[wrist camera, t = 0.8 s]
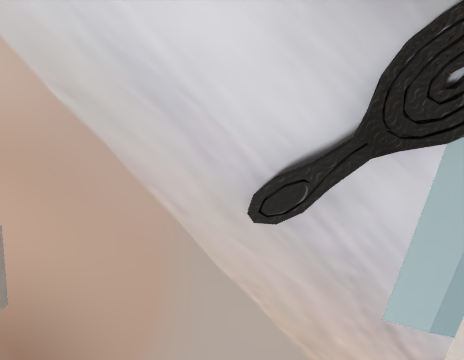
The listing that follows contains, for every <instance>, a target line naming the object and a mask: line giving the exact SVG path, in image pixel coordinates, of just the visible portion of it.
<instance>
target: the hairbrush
mask: <svg viewBox="0 0 464 360" xmlns="http://www.w3.org/2000/svg"><path fill="white" fill-rule="evenodd" d="M463 18H464V1H462V2H461V3H459V4H458V5H456V6H455V7H453V8H452V9H450V10H449V11H447V12H446V13H444V14H442V15H441V16H439V17H438V18H437V19H436V20H434V21H433V22H432V23H431V24H429V25H428V26H427V27H425V28H424V29H423V30H421V31H420V32H418V33H417V34H416V35H415V36H413V37H412V38H411V39H409V40H408V41H407V42H406V43H405V45H404V46H403V47H402V49H403V50H402V49H401V50H402V51H401V50H400V51H399V52H398V54H397V55H396V56H395V58H394V59H393V60H392V62H391V63H390V64H389V66H388V67H387V68H386V70H385V71H384V72H383V74H382V75H381V77H380V79H379V82H378V84H377V87H376V89H375V92H374V94H373V97H372V99H371V102H370V104H369V107H368V109H367V112H366V114H365V115H364V117H363V119H362V121H361V123H360V125H359V127H358V129H357V131H356V133H355V134H354V136H353V138H351V139H350V140H348V141H347V142H345V143H343V144H342V145H340V146H338V147H337V148H335V149H333V150H332V151H330V152H328V153H327V154H325V155H324V156H322V157H320V158H319V159H317V160H315V161H314V162H312V163H309V164H307V165H304V166H302V167H299V168H297V169H294V170H292V171H289V172H287V173H284V174H282V175H280V176H277V177H275V178H273V179H272V180H271V181H270V182H269V183H267V184H266V185H265V186H264V187H263V188H261V189H260V190H259V191H258V192H257V193H255V194H254V195H253V198H252V200H251V203H250V206H249V209H248V213H247V214H248V215H249V217H250V218H251V219H252V221H253V222H254V223H264V224H278V223H280V222H283V221H285V220H287V219H289V218H292V217H294V216H296V215H298V214H301V213H303V212H304V211H305V210H306V209H307V208H309V207H310V206H311V205H312V204H313V203H314V202H315V201H316V200H318V199H319V198H320V197H321V196H322V195H323V194H324V193H325V192H327V191H328V190H329V189H330V188H331V187H333V186H334V185H336V184H337V183H338V182H340V181H341V180H342V179H344V178H345V177H347V176H348V175H349V174H351V173H352V172H354V171H355V170H356V169H358V168H359V167H360V166H362V165H363V164H365V163H366V162H367V161H369V160H370V159H372V158H376V157H380V156H384V155H387V154H391V153H395V152H399V151H405V150H411V149H417V148H424V147H430V146H436V145H442V144H448V143H451V142H453V141H456V140H458V139H460V138H463V137H464V76H463V77H462V78H461V79H460V80H459V81H458V82H457V83H456V84H455V85H454V86H451V87H448V88H445V89H442V87H443V85H444V83H445V82H446V80H447V78H448V76H449V74H451V73H453V72H455V71H457V70H458V69H460V68H462V67H464V35H463V34H464V19H463ZM461 19H463V20H461ZM459 20H461V21H459ZM457 21H459V22H457ZM455 22H457V23H455ZM453 23H455V24H454V25H452V26H450V27H449V28H447V29H446V30H445V31H443V32H442V33H440V34H439V35H437V34H438V33H439V32H440V31H441V30H442V29H444V28H445V27H447V26H449V25H451V24H453ZM435 35H437V36H436V37H435V38H433V37H434V36H435ZM462 35H463V36H462ZM460 36H461V37H460ZM459 37H460V38H459ZM432 38H433V39H432ZM431 39H432V40H431ZM456 39H457V40H456ZM455 40H456V41H455ZM453 41H454V42H453ZM452 42H453V43H452ZM449 44H450V45H449ZM446 46H447V47H446ZM445 47H446V48H445ZM442 49H443V50H442ZM438 52H439V53H438ZM435 54H436V55H435ZM412 55H414V56H413V57H412V58H411V59H410V60H409V61H408V62H407V60H408V59H409V58H410V57H411V56H412ZM434 55H435V56H434ZM433 56H434V57H433ZM431 57H433V58H432V59H431V60H430V61H429V62H428V60H429V59H430V58H431ZM449 60H450V61H449ZM448 61H449V62H448ZM406 62H407V64H406V65H405V63H406ZM427 62H428V63H427ZM446 62H448V63H447V64H446ZM426 63H427V64H426ZM425 64H426V65H425ZM445 64H446V65H445ZM404 65H405V66H404ZM424 65H425V66H424ZM403 66H404V67H403ZM400 70H401V71H400ZM392 82H393V83H392ZM391 84H392V85H391ZM390 85H391V87H390ZM389 87H390V89H389V91H388V88H389ZM406 88H407V91H406V94H405V97H404V91H405V89H406ZM387 91H388V93H387ZM386 94H387V95H386ZM456 94H457V95H456ZM427 95H428V96H429V97H430V98H431V99H433V100H436V101H438V102H434V101H432V100H430V99H428V98H427ZM454 95H455V96H454ZM452 96H454V97H452ZM450 97H452V98H450ZM448 98H450V99H448ZM446 99H447V100H446ZM382 109H383V120H382V117H381V113H382ZM403 111H404V112H405V113H406V115H407V116H408V117H409V118H411V119H412V120H409V119H407V118H405V117H404V116H403ZM427 119H432V120H429V121H427V122H420V121H418V120H427ZM383 121H384V122H383ZM384 123H385V124H386V126H387V127H388V128H389V129H390V130H391V131H393V132H394V133H397V134H402V135H410V136H407V137H399V136H397V135H395V134H394V133H392V132H390V131H388V130H386V128H385V125H384ZM335 165H336V166H335ZM334 166H335V167H334ZM333 167H334V168H333ZM332 168H333V169H332ZM331 169H332V170H331ZM329 170H331V171H330V172H329V173H328V171H329ZM327 173H328V174H327ZM326 174H327V175H326ZM325 175H326V176H325ZM324 176H325V177H324ZM323 177H324V178H323ZM322 178H323V179H322ZM321 179H322V181H321ZM320 181H321V182H320ZM319 182H320V183H319ZM318 183H319V184H318ZM317 184H318V185H317ZM316 185H317V186H316ZM315 186H316V187H315ZM314 187H315V188H314ZM264 198H266V199H265V200H264ZM263 200H264V202H263ZM262 202H263V205H262V210H261V209H260V207H261V204H262Z"/></svg>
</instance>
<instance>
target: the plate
mask: <svg viewBox="0 0 464 360" xmlns="http://www.w3.org/2000/svg"><path fill="white" fill-rule="evenodd" d="M463 317H464V137H463V138H460V139H458V140H456V141H453V142H451V143H448V144H447V146H446V149H445V152H444V155H443V157H442V160H441V163H440V165H439V168H438V171H437V173H436V176H435V179H434V182H433V184H432V187H431V190H430V192H429V195H428V198H427V200H426V203H425V206H424V209H423V211H422V214H421V217H420V219H419V222H418V225H417V227H416V230H415V233H414V235H413V238H412V241H411V244H410V246H409V249H408V252H407V254H406V257H405V260H404V262H403V265H402V268H401V271H400V273H399V276H398V279H397V281H396V284H395V287H394V289H393V292H392V295H391V298H390V300H389V303H388V306H387V308H386V311H385V314H384V316H383V319H382V320H385V321H388V322H392V323H396V324H399V325H403V326H407V327H410V328H414V329H418V330H421V331H425V332H429V333H434V334H439V335H444V336H449V337H454V338H455V335H456V333H457V331H458V328H459V326H460V324H461V322H462V319H463Z"/></svg>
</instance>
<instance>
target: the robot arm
mask: <svg viewBox="0 0 464 360" xmlns="http://www.w3.org/2000/svg"><path fill="white" fill-rule="evenodd" d="M6 287H7V286H6V275H5V263H4V249H3V237H2V225H0V312H1V311H2V310H3V309H4V308H5V307H6V306H7V304H8V299H7V288H6ZM445 360H464V317H463V319H462V322H461V324H460V326H459V328H458V331H457V333H456V335H455V338H454V340H453V342H452V344H451V347H450V349H449V351H448V354H447V356H446V358H445Z"/></svg>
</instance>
